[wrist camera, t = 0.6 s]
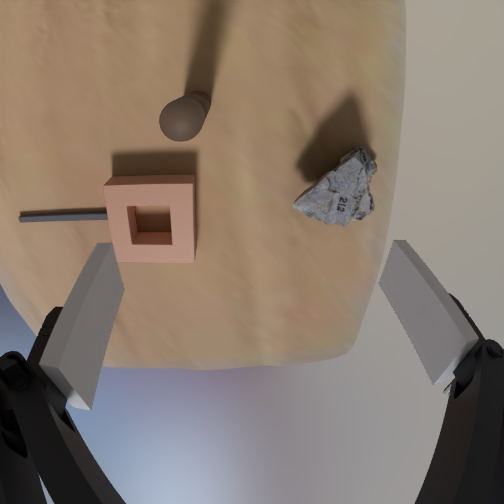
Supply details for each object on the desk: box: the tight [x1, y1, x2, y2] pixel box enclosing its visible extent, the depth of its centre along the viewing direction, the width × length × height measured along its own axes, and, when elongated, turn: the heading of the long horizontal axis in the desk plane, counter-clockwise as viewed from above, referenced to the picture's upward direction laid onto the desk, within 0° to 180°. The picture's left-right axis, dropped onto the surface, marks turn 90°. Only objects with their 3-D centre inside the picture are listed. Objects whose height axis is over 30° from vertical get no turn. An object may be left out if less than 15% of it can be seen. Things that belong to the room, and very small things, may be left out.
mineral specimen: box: [293, 146, 377, 226], centre depth 32 cm, size 10×8×10 cm
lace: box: [19, 212, 108, 223], centre depth 33 cm, size 1×16×1 cm, turn 86°
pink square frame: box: [103, 175, 196, 263], centre depth 33 cm, size 10×10×3 cm
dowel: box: [159, 91, 211, 142], centre depth 23 cm, size 3×3×12 cm
